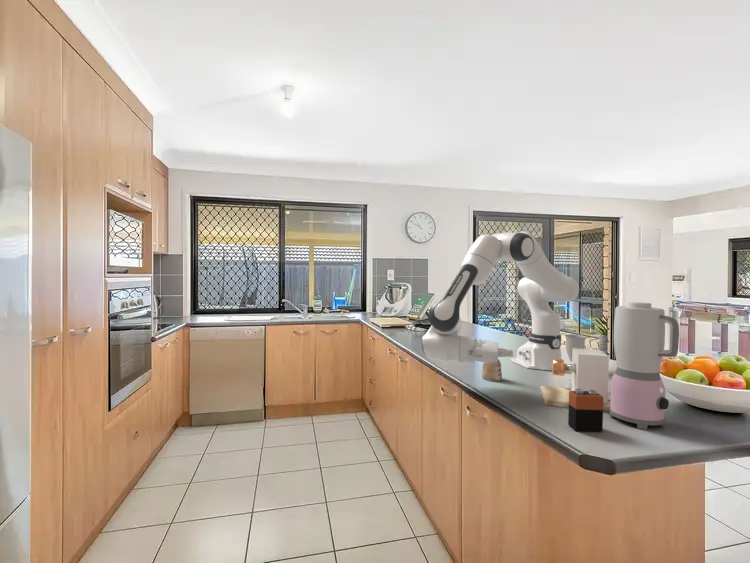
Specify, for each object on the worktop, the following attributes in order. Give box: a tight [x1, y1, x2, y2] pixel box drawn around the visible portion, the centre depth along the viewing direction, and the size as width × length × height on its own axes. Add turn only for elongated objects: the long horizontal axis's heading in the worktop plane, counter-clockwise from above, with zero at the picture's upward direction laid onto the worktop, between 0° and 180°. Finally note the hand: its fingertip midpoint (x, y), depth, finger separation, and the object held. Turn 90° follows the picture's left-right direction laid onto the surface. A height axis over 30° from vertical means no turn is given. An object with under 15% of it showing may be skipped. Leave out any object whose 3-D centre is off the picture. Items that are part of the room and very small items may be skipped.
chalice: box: [564, 334, 587, 389], centre depth 135 cm, size 7×7×18 cm
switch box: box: [570, 348, 610, 404], centre depth 119 cm, size 8×10×14 cm
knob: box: [551, 359, 576, 377], centre depth 121 cm, size 9×5×5 cm, turn 72°
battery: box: [567, 389, 604, 433], centre depth 98 cm, size 4×7×10 cm, turn 89°
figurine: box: [481, 359, 503, 382], centre depth 144 cm, size 7×7×12 cm
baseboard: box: [539, 385, 610, 413], centre depth 120 cm, size 18×16×2 cm
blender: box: [609, 301, 680, 430], centre depth 102 cm, size 16×12×32 cm
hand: (513, 353), depth 125 cm, fingers closed
